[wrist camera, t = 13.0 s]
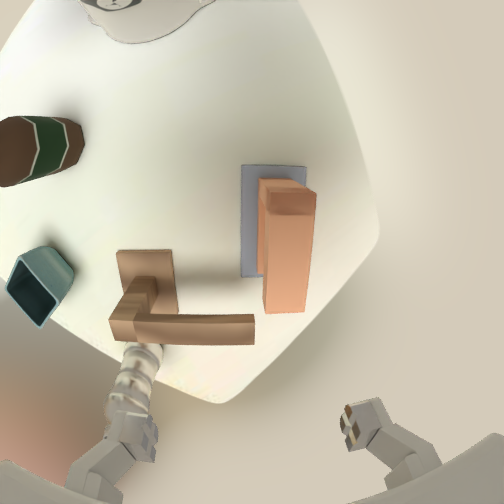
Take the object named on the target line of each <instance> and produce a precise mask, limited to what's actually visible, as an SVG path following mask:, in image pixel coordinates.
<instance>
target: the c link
mask: <svg viewBox="0 0 504 504" xmlns="http://www.w3.org/2000/svg"><path fill="white" fill-rule="evenodd" d="M315 208H316V193H315V192H313V191H311V190H310V189H308V188H306V187H305V186H303V185H301V184H299V183H298V182H296V181H294V180H292V179H291V178H258V218H257V260H256V268H257V273H258V274H263V296H262V299H263V304H264V309H265V314H278V313H298V312H304V311H305V303H306V296H307V288H308V280H309V271H310V262H311V252H312V242H313V232H314V220H315Z"/></svg>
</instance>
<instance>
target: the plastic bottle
mask: <svg viewBox="0 0 504 504" xmlns="http://www.w3.org/2000/svg"><path fill="white" fill-rule="evenodd" d="M162 361H163V350H162V347H161V345H160V344H153V343H139V342H127V343H126V346H125V350H124V358H123V361H122V365H121V369H120V371H119V374H118V376H117V378H116V381H115V383H114V385H113V386H112V388H111V389H110V391H109V393H108V394H107V396H106V398H105V400H104V413H105V417H106V419H107V422H108V424H109V425H107V426H106V428H105V433H104V437H103V439H107V437H108V433H109V430H110V427H111V423H112V420H113V417H114V414H115V412H116V411H117V410H122V411H128V412H134V413H142V414H149V406H150V395H151V389H152V384H153V381H154V379H155V376H156V373H157V371H158V370H159V368H160V366H161V364H162Z"/></svg>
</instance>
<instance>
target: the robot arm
mask: <svg viewBox="0 0 504 504" xmlns="http://www.w3.org/2000/svg"><path fill="white" fill-rule="evenodd" d="M77 1H78V2H79V3H80V4H81V5H82V7H83V8H84V9H85V10H86V11H87V12H88V13H89V15H88V20H89V21H90V22H91V23H92V24H95V25H98V26H101V27H102V28H103V29H104V31H105V32H106V33H107V35H108V36H109V37H111V38H112V39H114V40H116V41H119V42H122V43H142V42H147V41H151V40H155V39H157V38H160V37H162V36H165V35H167V34H169V33H171V32H172V31H174V30H176V29H177V28H179V27H180V26H181V25H183V24H184V23H185V22H186V21H187V20H188V19H189V18H190V17H191V16H192V15H193V14H194V13H195V12H196V11H197V10H198V9H200V8H201V7H203V6H206V5H208V4H210V3H212V2H213V1H215V0H77ZM344 410H345V413H343V414H342V415H341V418H340V427H341V430H342V433H343V434H345V435H346V436H347V437H346V439H345V442H346V445H347V448H348V451H349V452H351V451H355V450H359V449H363V448H366V449H367V450H368V451H369V452H371V453H372V454H373V455H374V456H376V457H377V458H378V459H379V460H381V461H382V462H383V463H385V464H386V465H387V466H388V467H390V468H391V469H392V471H391V472H390V473H389V474H388V475H387V476H386V477H385V478H384V480H385V483H386V486H387V489H388V490H387V491H385V492H382V493H380V494H376V495H374V496H371V497H368V498H365V499H361V500H358V501H355V502H352V503H348V504H504V436H503V435H500V434H497V433H492V434H490V435H488V436H487V437H485V438H484V439H483V440H481V441H480V442H478V443H477V444H475V445H474V446H472V447H471V448H470V449H468V450H466V451H465V452H463V453H462V454H460V455H458V456H457V457H455V458H453V459H452V460H450V461H448V462H447V463H445V464H443V465H442V463H441V461H440V459H439V457H438V455H437V453H436V451H435V449H434V447H433V445H432V444H431V443H429V442H427V441H425V440H424V439H422V438H420V437H418V436H417V435H415V434H413V433H411V432H410V431H408V430H406V429H404V428H403V427H401V426H399V425H398V424H396V423H395V424H393V423H392V421H391V419H390V417H389V415H388V413H387V411H386V409H385V407H384V405H383V403H382V401H381V399H380V398H379V397H378V398H377V397H376V398H372V399H369V400H364V401H360V402H356V403H352V404H347V405H346V406H345V408H344ZM152 421H153V418H152V416H151V415H150V414H142V413H134V412H128V411H122V410H117V411H116V412H115V414H114V417H113V420H112V423H111V427H110V430H109V433H108V437H107V439H103V440H102V441H100V442H99V443H98V444H97V445H96V446H94V447H93V448H92V449H90V450H89V451H88V452H87V453H85V454H84V455H83V456H81V457H80V458H79V459H78V460H76V461H75V462H74V463H72V464H71V466H70V470H69V473H68V477H67V480H66V483H65V487H62V486H59V485H57V484H55V483H52V482H50V481H48V480H46V479H44V478H42V477H40V476H38V475H36V474H34V473H32V472H30V471H28V470H26V469H24V468H23V467H21V466H19V465H17V464H16V463H14V462H12V461H10V460H3V461H0V504H122V500H123V493H122V492H121V491H119V490H118V489H117V488H116V487H114V485H115V484H116V482H118V481H119V480H120V478H121V477H122V476H123V475H124V474H125V473H126V472H127V471H128V470H129V469H130V468H131V466H133V464H134V463H135V462H136V460H137V461H144V462H152V463H154V461H155V454H156V450H155V448H154V447H153V446H154V445H155V444H156V443H157V442H158V429H157V426H156V424H155V423H153V422H152Z"/></svg>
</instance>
